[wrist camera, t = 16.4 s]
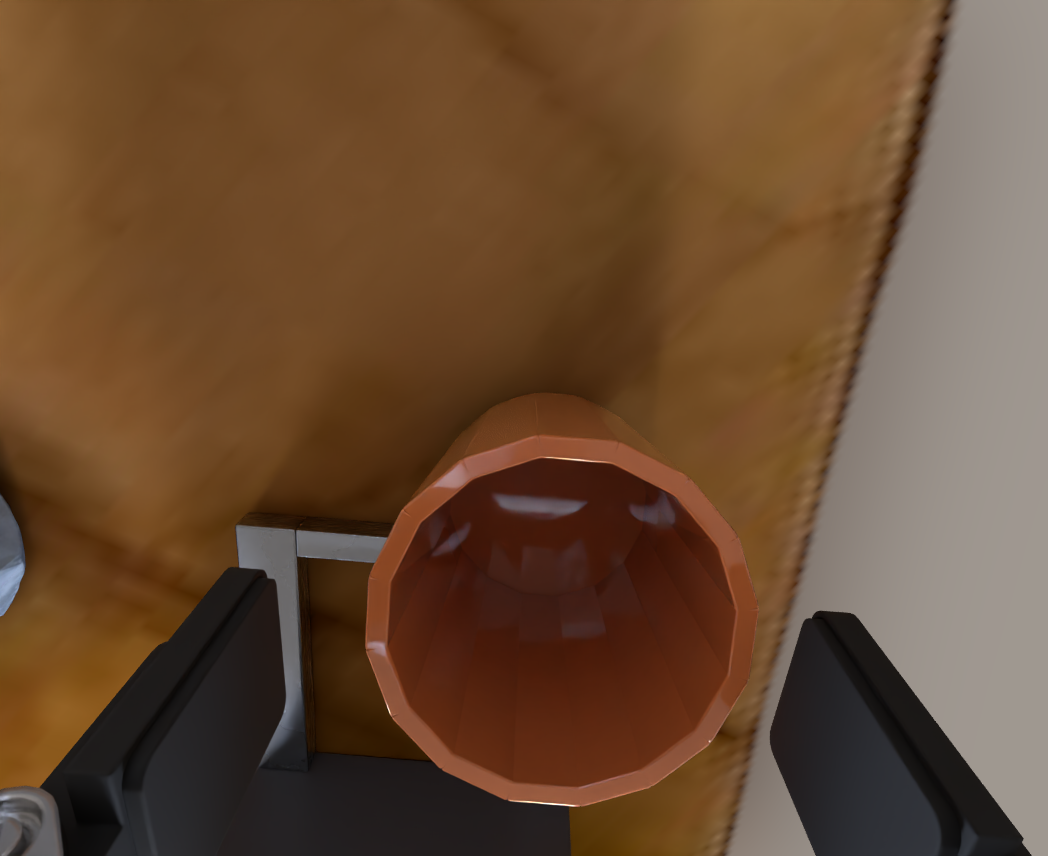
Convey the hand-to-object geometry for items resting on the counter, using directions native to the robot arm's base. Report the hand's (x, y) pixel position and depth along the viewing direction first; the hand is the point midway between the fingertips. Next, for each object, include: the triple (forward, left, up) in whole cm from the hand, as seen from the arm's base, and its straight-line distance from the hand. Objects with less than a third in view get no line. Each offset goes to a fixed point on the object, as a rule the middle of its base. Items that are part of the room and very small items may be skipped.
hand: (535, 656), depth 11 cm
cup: (+1, 0, -9) cm, 9 cm away
